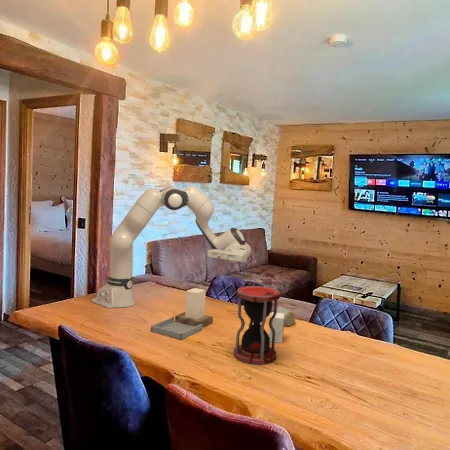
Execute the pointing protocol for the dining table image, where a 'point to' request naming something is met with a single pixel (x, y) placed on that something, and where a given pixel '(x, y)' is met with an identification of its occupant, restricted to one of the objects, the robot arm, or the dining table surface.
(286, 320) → the ceramic mug
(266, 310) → the hourglass
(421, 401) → the dining table surface
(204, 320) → the brown flat block
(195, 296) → the cream block
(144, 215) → the robot arm
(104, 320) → the dining table surface
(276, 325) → the small box
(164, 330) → the gray tray
